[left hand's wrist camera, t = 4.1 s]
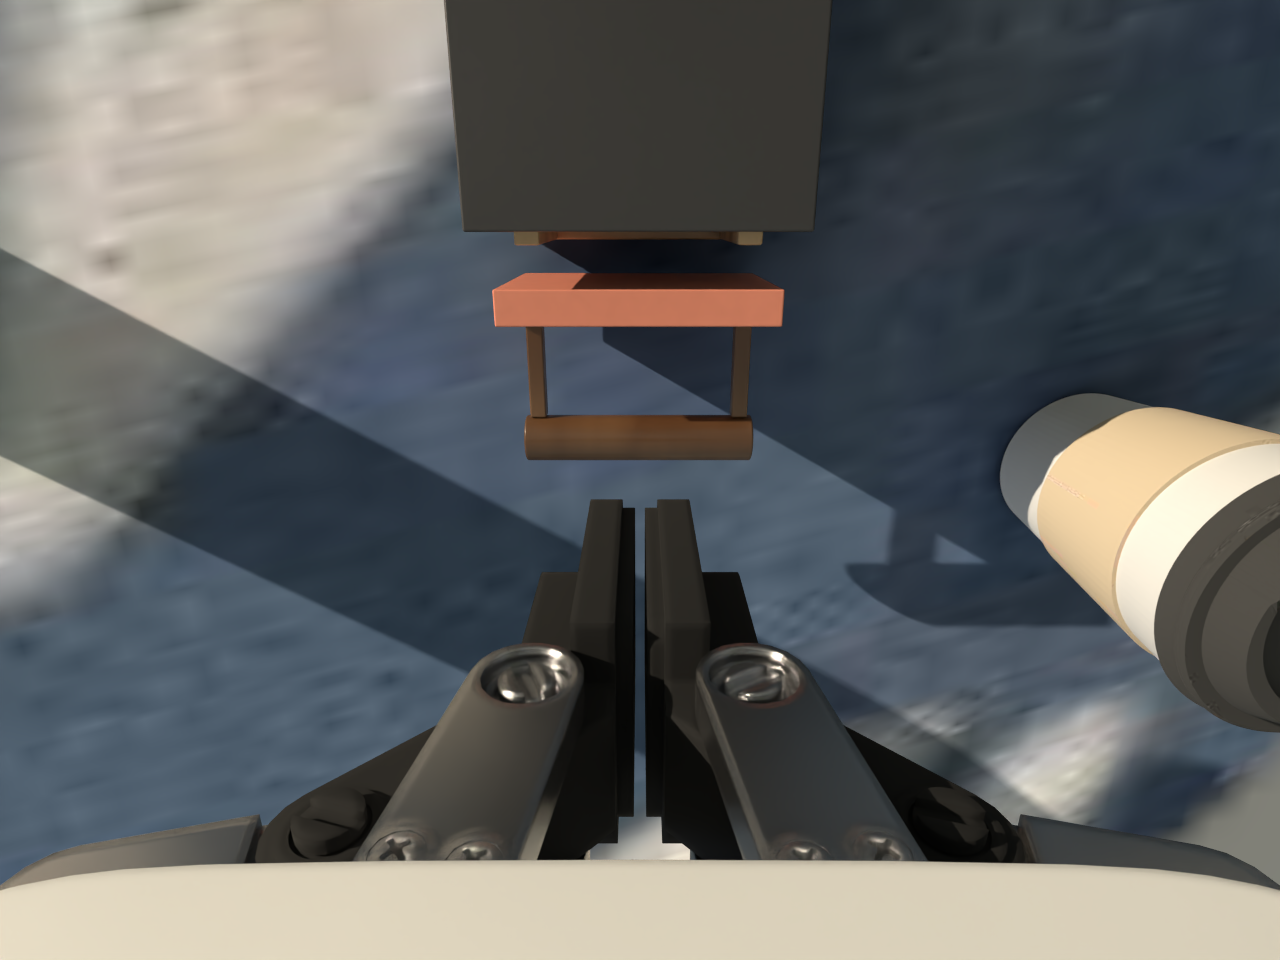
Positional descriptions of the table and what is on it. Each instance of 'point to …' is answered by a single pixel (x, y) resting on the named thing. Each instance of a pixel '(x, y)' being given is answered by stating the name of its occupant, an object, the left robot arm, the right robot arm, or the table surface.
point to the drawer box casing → (638, 114)
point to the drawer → (638, 306)
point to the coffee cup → (1165, 537)
